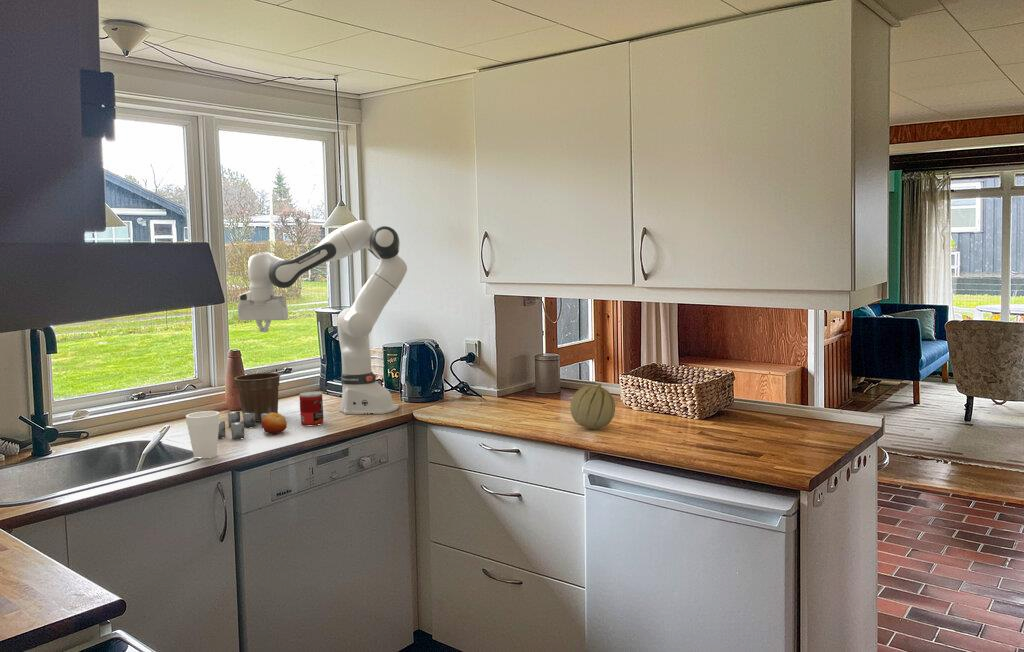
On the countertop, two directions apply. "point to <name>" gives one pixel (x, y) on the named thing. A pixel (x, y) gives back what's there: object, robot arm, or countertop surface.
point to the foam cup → (203, 432)
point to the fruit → (274, 423)
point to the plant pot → (258, 393)
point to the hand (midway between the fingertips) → (264, 331)
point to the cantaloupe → (592, 407)
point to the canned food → (311, 408)
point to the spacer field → (239, 423)
